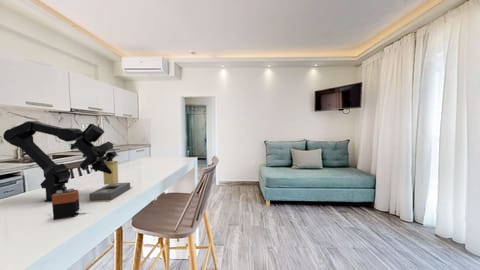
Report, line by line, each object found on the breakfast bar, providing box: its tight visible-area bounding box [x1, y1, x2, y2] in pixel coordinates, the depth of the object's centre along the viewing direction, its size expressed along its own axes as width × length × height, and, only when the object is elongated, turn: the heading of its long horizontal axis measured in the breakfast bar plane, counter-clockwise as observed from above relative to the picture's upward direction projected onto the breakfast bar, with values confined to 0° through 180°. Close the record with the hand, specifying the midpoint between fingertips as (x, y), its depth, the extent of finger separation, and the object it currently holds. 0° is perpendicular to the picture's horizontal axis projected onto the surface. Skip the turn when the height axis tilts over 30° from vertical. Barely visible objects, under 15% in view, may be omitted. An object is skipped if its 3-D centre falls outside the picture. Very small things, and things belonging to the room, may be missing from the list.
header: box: [85, 182, 134, 204], centre depth 97 cm, size 10×20×5 cm, turn 1°
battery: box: [51, 188, 81, 220], centre depth 78 cm, size 4×7×10 cm, turn 111°
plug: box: [102, 160, 119, 186], centre depth 97 cm, size 4×4×10 cm
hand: (113, 172), depth 97 cm, fingers closed on plug, 4 cm apart
